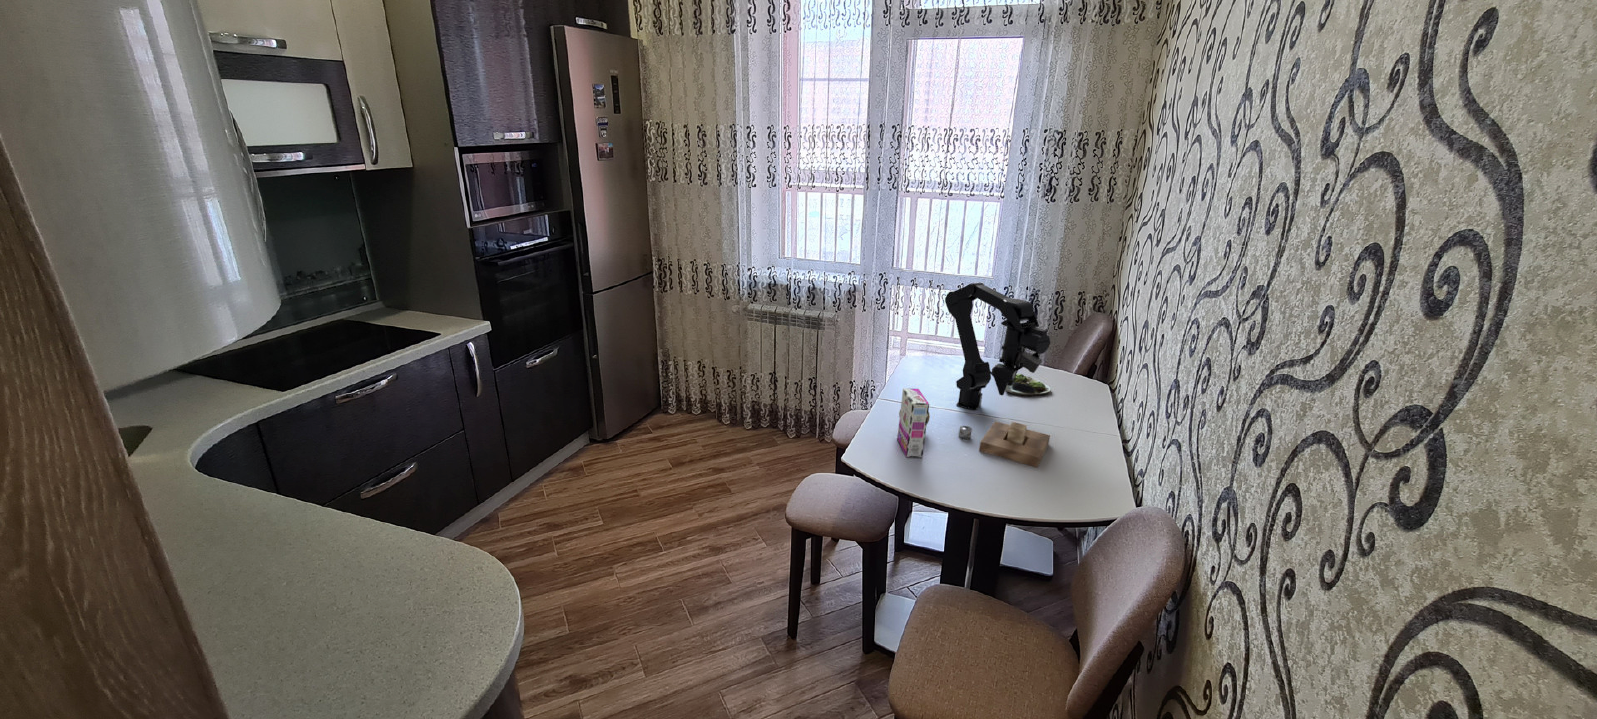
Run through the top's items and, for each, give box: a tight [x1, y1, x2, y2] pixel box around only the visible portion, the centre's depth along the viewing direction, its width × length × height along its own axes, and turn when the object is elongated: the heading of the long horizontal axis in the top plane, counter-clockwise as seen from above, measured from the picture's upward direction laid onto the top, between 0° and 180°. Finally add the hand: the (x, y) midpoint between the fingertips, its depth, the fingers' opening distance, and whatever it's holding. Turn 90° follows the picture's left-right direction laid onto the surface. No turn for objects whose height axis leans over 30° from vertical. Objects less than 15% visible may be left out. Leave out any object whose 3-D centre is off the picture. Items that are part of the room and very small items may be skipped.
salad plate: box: [1005, 373, 1052, 398], centre depth 222 cm, size 19×18×5 cm
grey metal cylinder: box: [957, 425, 973, 441], centre depth 182 cm, size 4×4×3 cm
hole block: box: [978, 420, 1051, 468], centre depth 177 cm, size 16×16×3 cm
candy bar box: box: [897, 388, 930, 459], centre depth 172 cm, size 11×5×16 cm, turn 5°
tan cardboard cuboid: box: [1007, 421, 1028, 445], centre depth 177 cm, size 4×4×7 cm
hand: (1005, 390), depth 190 cm, fingers open, 9 cm apart
